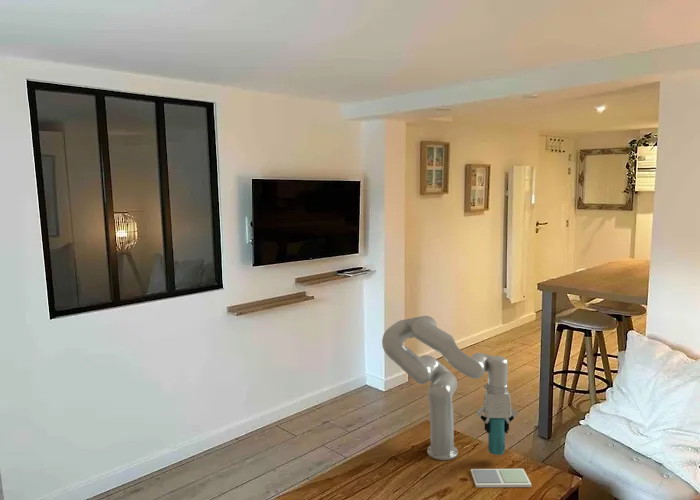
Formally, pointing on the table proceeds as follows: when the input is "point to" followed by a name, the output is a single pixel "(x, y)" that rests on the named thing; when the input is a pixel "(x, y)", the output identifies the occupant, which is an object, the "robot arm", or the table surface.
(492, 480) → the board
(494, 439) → the beverage bottle
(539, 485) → the table surface
